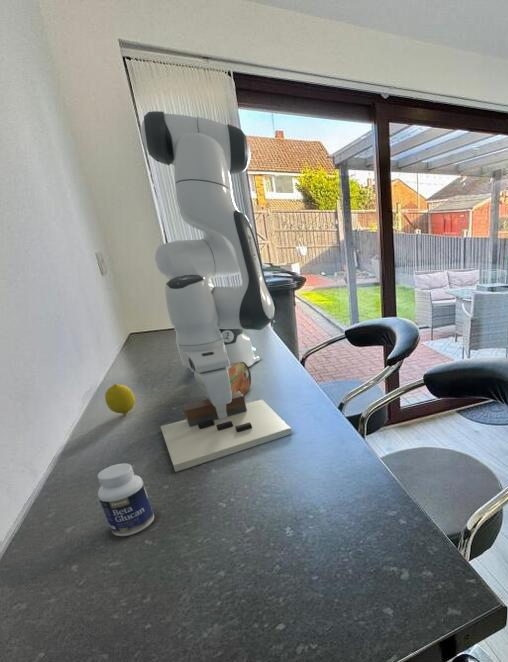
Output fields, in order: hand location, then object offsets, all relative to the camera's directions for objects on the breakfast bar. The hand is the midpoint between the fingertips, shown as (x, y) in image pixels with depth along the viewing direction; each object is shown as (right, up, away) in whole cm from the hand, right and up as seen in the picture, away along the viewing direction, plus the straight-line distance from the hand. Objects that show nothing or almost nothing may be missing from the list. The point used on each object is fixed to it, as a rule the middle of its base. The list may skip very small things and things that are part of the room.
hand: (217, 410), depth 91 cm
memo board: (+4, -5, -4) cm, 7 cm away
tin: (-3, +2, +15) cm, 15 cm away
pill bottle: (+3, -15, -30) cm, 34 cm away
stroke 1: (0, -3, -4) cm, 5 cm away
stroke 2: (+4, -3, -5) cm, 7 cm away
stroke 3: (+9, -4, -6) cm, 11 cm away
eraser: (0, -1, +1) cm, 1 cm away
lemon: (-26, -2, +6) cm, 27 cm away
